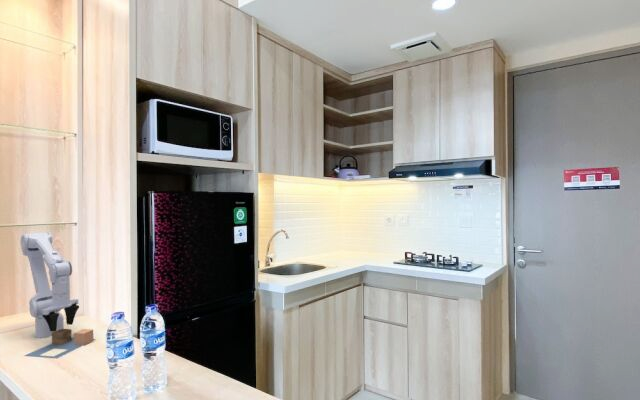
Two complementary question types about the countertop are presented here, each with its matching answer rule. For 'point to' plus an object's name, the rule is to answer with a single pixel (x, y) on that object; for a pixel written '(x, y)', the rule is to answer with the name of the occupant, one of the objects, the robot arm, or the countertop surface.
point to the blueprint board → (55, 350)
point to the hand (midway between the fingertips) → (61, 327)
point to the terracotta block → (83, 337)
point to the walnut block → (61, 336)
